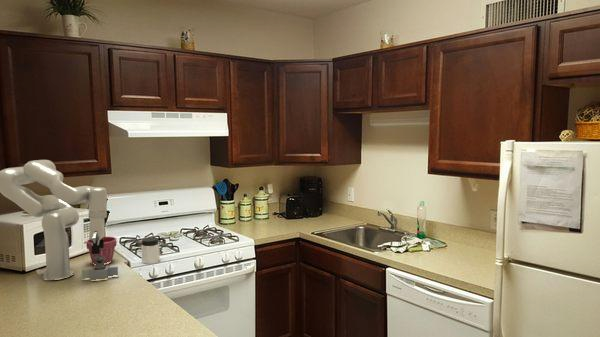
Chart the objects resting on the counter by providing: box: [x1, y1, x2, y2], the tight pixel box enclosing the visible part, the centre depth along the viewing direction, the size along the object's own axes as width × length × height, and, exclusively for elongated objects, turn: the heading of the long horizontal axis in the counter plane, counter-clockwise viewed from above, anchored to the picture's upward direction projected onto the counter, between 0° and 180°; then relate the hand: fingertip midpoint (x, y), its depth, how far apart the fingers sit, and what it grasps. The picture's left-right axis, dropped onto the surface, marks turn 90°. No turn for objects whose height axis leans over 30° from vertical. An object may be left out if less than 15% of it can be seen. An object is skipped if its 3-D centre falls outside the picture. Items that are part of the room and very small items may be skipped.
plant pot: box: [85, 236, 118, 264], centre depth 216 cm, size 14×14×13 cm
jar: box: [140, 237, 161, 265], centre depth 220 cm, size 9×8×12 cm
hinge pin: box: [94, 256, 105, 270], centre depth 193 cm, size 5×5×10 cm
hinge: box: [81, 264, 119, 281], centre depth 193 cm, size 15×7×5 cm, turn 105°
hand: (97, 250), depth 193 cm, fingers open, 9 cm apart
